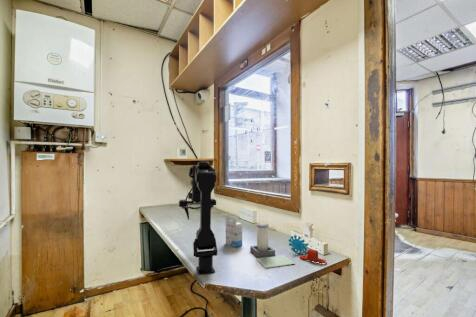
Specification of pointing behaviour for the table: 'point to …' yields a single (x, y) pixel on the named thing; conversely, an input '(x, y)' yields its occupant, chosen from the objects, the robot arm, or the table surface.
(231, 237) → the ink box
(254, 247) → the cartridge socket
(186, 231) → the table surface
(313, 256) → the bracket
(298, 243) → the gear
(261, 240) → the cylinder
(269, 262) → the pad
